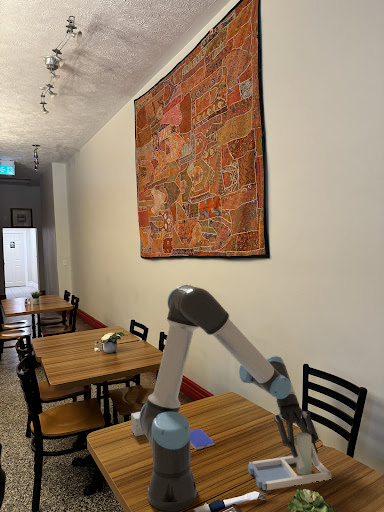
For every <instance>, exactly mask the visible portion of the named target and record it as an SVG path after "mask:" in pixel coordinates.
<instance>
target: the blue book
mask: <svg viewBox="0 0 384 512" xmlns="http://www.w3.org/2000/svg"><path fill="white" fill-rule="evenodd" d="M190 432H191V433H190V446H192V447H193V448H194V449H195V450H201V449H203V448H208V447H211V446H214V445H215V444H216V442H215V441H214V440H213V439H212V438H211V437H210V436H209V435H208V434H207V433H206V432H205V431H204V430H203V429H201V428H196V429H192V430H190Z"/></svg>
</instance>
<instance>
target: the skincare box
mask: <svg viewBox="0 0 384 512" xmlns="http://www.w3.org/2000/svg"><path fill="white" fill-rule="evenodd" d="M140 412H141V411H136V412H132V413H130V420H131V421H130V422H131V423H130V425H131V432H132V434H133V433H134V434H133V435H134V437H139V436H143V435H144V436H145V434H144V432H143V431H142V428H141V425H140V419H139V418H140Z"/></svg>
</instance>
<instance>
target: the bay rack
mask: <svg viewBox="0 0 384 512" xmlns="http://www.w3.org/2000/svg"><path fill="white" fill-rule="evenodd" d="M319 462H320V464H319V465H318V466H316V467H315V465H314V462H313V459H312V466H314V467H315V468H316V469H317V470H318V471H319V472H316V473H312V474H309V475H298V474H297V472H295V471H294V470H293V469H292V466H290V465H292V464H296V457H295V458H294V457H293V455H288V456H280V457H274V458H268V459H262V460H255V461H254V460H253V461H249V462H248V464H247V471H248V473H249V475H250V476H252V475H253V477H254V478H255V484H256V487H257V488H258V489H259V490H260V489H262V491H263V490H266V491H271V490H278V489H283V488H288V487H295V486H294V485H296V486H301V484H302V485H307V484H312V482H313V483H317V482H316V481H319V482H324V481H323V480H325V481H329V479H331V480H332V473H331V471H330V470H329V469H328V468H327V467H326V466H325V465H323V463H322V462H321V461H320V460H319Z"/></svg>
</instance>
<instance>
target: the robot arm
mask: <svg viewBox="0 0 384 512" xmlns="http://www.w3.org/2000/svg"><path fill="white" fill-rule="evenodd" d="M167 307H168V314H167V318H166V320H167V322H168V324H169V328H168V332H167V336H166V339H165V344H164V348H163V352H162V357H161V360H160V364H159V369H158V373H157V378H156V381H155V386H154V390H153V392H152V393H150V394H149V395H148V396H147V400H146V402H145V404H143V405H142V407H141V409H140V411H139V412H140V418H139V419H140V425H141V428H142V431H143V432H144V436H145V437H146V439H147V441H148V442H149V445H150V447H151V449H152V450H151V451H152V473H151V478H150V482H148V483H149V484H148V487H147V500H148V502H149V504H150V505H151V506H152V507H153V508H155V509H157V510H158V511H164V512H178V511H182V510H185V509H186V508H188V507H190V506H191V505H192V504H194V503H195V501H196V499H197V495H198V487H197V483H196V480H195V477H194V474H193V471H192V469H191V444H190V433H191V432H190V431H191V428H190V421H189V420H188V418H187V417H186V416H185V415H184V414H182V413H180V409H181V402H180V401H179V400H180V399H179V393H180V389H181V385H182V381H183V376H184V372H185V367H186V364H187V359H188V355H189V351H190V347H191V344H192V343H191V342H192V339H193V334H194V331H195V330H197V329H199V328H200V329H201V330H203V331H204V333H206V334H207V335H209V336H213V338H215V339H216V340H217V341H218V343H220V344H221V346H223V347H224V348H225V350H226V351H228V353H229V354H230V355H231V356H232V357H233V358H234V359H235V360H236V361H237V362H238V363H239V364H240V366H239V371H238V374H239V379H240V380H241V382H242V383H244V384H253V385H255V386H256V387H258V388H260V389H262V390H264V391H265V392H266V393H268V394H270V396H272V398H273V397H274V398H275V400H276V404H277V407H278V410H279V414H276V415H274V417H273V420H274V421H275V424H276V425H277V428H278V431H279V434H280V437H281V442H282V445H283V446H284V447H288V449H290V452H291V456H293V457H294V458H295V457H296V460H297V463H298V466H299V469H302V468H303V467H304V463H303V460H302V457H301V455H300V452H299V449H298V446H297V445H296V442H295V435H294V434H295V433H294V424H296V426H297V427H299V429H300V431H301V432H304V433H308V434H310V435H311V443H312V459H313V462H314V465H315V466H314V465H313V466H314V467H315V468H316V466H318V465H319V464H320V462H321V461H320V460H319V457H318V454H319V451H318V448H317V446H316V442H318V440H319V435H318V433H317V430H316V427H315V426H314V423H313V419H312V418H311V411H310V410H307V411H304V410H303V409H302V408H301V407H300V403H299V400H298V398H297V395H296V392H295V390H294V387H293V384H292V382H291V379H290V376H289V372H288V370H287V366H286V364H285V363H284V360H283V359H282V357H280V356H277V355H274V356H269V357H268V358H266V357H265V356H264V355H263V353H261V352H260V351H259V350H258V349H257V347H256V346H255V345H254V344H253V343H252V342H251V341H250V340H249V338H247V337H246V335H244V333H243V332H242V331H241V330H240V329H239V328H238V326H237V325H235V323H234V322H233V321H232V320H231V319H230V313H228V311H227V310H226V309H225V308H224V307H223V306H222V305H221V304H220V302H219V301H218V300H217V299H216V298H215V297H214V296H213V295H212V294H211V293H210V292H209V291H207V289H204V288H201V287H197V286H193V285H190V284H189V285H188V284H186V285H183V284H182V285H178V286H176V287H175V288H173V289H172V290H171V292H170V293H169V295H168V297H167ZM303 418H304V419H303ZM283 420H284V421H285V424H286V428H285V425H284V421H283ZM286 430H287V431H286ZM319 461H320V462H319Z"/></svg>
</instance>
